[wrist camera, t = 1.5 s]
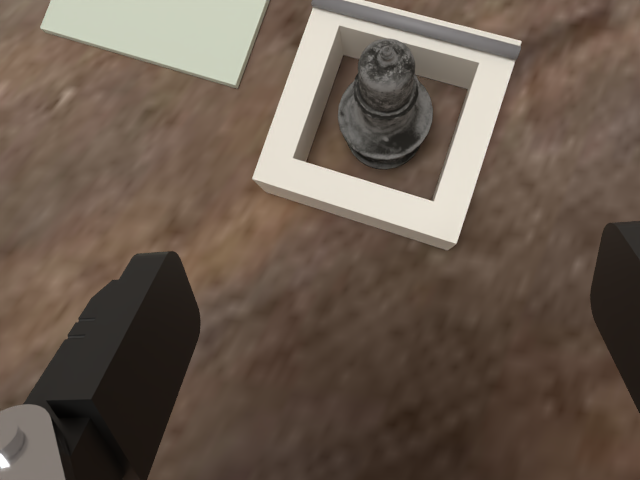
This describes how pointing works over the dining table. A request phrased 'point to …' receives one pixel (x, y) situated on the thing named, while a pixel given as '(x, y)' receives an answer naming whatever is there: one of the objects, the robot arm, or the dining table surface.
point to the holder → (430, 61)
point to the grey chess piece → (385, 107)
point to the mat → (166, 32)
